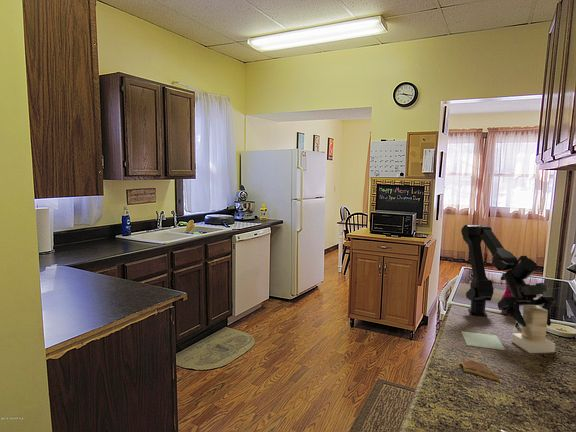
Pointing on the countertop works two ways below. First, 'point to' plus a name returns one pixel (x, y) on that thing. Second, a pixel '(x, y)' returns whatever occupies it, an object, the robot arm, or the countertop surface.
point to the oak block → (534, 323)
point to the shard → (478, 369)
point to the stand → (533, 344)
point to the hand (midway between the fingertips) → (537, 325)
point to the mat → (482, 340)
